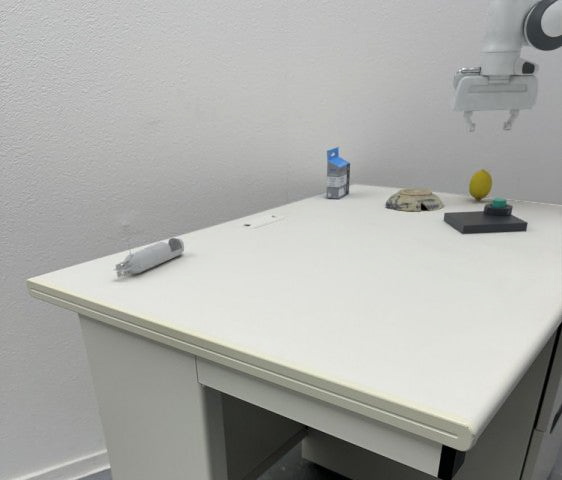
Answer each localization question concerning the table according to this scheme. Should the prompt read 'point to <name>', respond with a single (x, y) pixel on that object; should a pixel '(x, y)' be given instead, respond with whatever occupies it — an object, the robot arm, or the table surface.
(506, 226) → the dark grey button base
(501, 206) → the scale button
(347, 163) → the ink cartridge box
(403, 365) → the table surface
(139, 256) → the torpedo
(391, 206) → the decorative bowl
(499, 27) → the robot arm
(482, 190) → the lemon
